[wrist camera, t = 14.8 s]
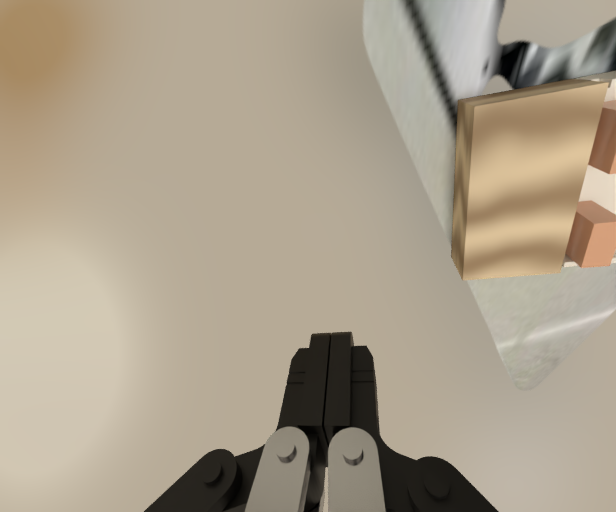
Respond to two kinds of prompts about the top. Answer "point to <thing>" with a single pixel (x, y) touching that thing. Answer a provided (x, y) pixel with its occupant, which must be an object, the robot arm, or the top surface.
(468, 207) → the platform
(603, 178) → the bin
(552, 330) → the top surface
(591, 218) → the tile outer
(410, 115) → the top surface
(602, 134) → the tile inner
